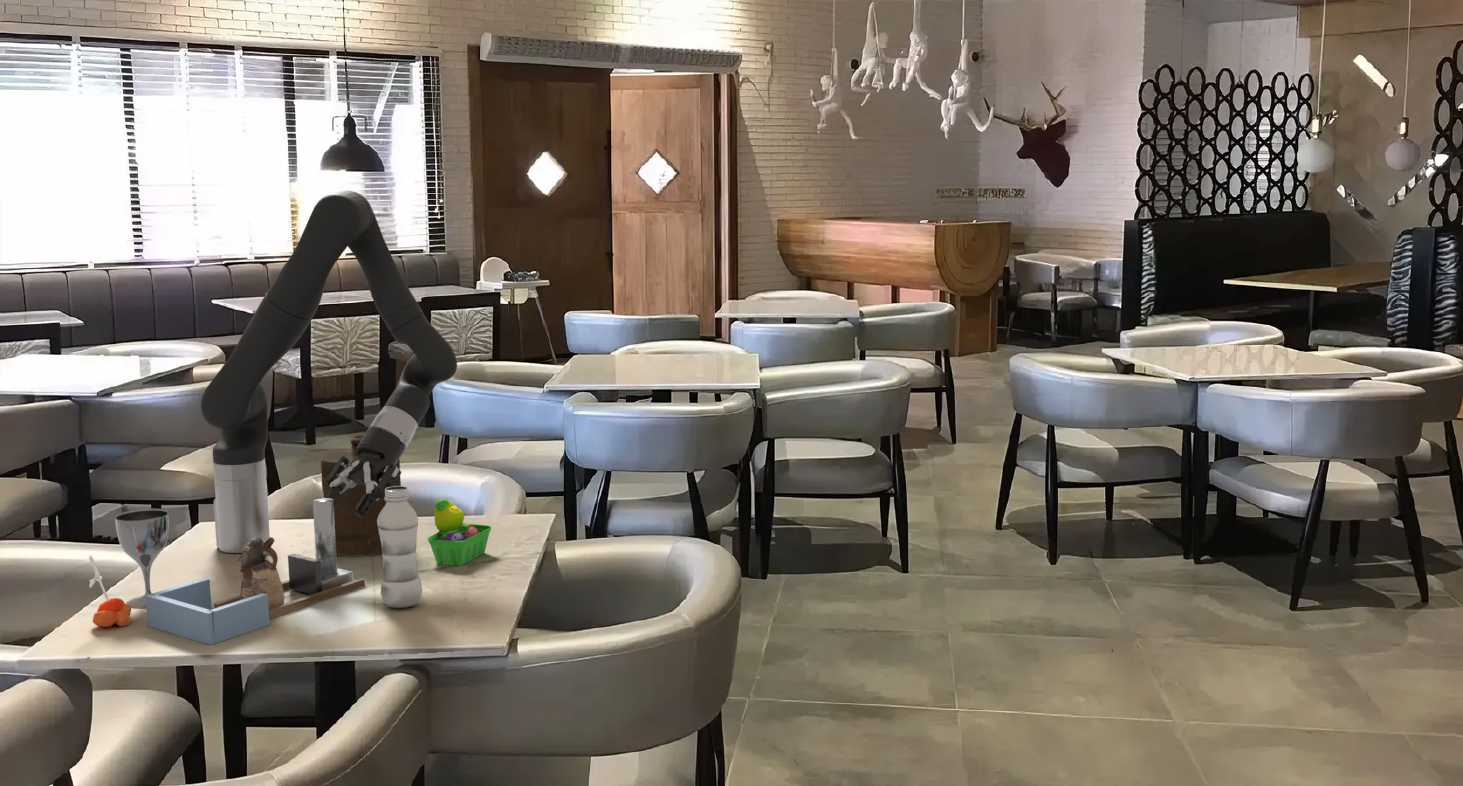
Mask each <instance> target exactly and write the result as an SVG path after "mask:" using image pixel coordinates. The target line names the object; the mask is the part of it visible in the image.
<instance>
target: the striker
mask: <svg viewBox="0 0 1463 786" xmlns="http://www.w3.org/2000/svg"><path fill="white" fill-rule="evenodd" d="M312 514H313V530H314V532H313V533H314V546H315V558H314V557H311V556H305V555H300V554H297V553H292V554H288V555H287V564H288V565H287V566H288V580H289V584H290V589H289V590H292V591H297V592H300V593H305V594H308V595H312V594H315V593H318V592H321V591H324V590H327V589H330V588H334V587H337V586H340V585H343V584H346V583H349V582H352V581H354V575H353V571H351V570H347V569H343V568H338V560H337V559H338V557H337V556H338V555H336V538H335V520H334V502H333V499H330V498H322V497H321V498H318V499H317V498H316V499H314V500H313V501H312Z"/></svg>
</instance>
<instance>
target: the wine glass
mask: <svg viewBox="0 0 1463 786" xmlns="http://www.w3.org/2000/svg"><path fill="white" fill-rule="evenodd" d="M114 518H115V520H114V521H115V530H116V535H117V539H118V543H119V544H120V547H121V549H122V551H123V552H124V553H125V554H126V555H127V556H128V557H130V558H131V559H132V560H133V561H135V562H136V563H137V565H138V566H139V568H140V569H141V571H142V572H141V573H142V576H143V581H144V591H145V593H144V595H140V596H136V597H133V598H130V599H129V600H127V601H126V602H124V603H125V604H128V605H131V609H146V598H145V595H149V594H152V590H151V569H152V566H153V563H154V561H156V559H157V558H158V556H159V555H160V554H161V552H162V551H163V550H164V548H165V547H166V545H167V543H168V538H169V537H168V536H169V528H170V523H169V513H168V510H166V509H163V508H141V509H135V510H133V509H132V510H130V511H129V510H128V511H125V512H121V513H119V514H117V515H116V516H115V517H114Z"/></svg>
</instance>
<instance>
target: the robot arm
mask: <svg viewBox="0 0 1463 786" xmlns="http://www.w3.org/2000/svg"><path fill="white" fill-rule="evenodd" d="M303 229H304V230H303V232H302V233H301V236H300V238H299V240H298V243H297V245H296V246H295V248H294V250H293V252H292V254H291V256H290V257H289V258H288V260H287V261H286V262H285V264H284V265H283V266H282V267H281V269H280V271H279V273H278V274H277V276H276V277H275V279H274V281H273V282H272V284H271V285H270V287H269V288H268V290H267V291H266V293H265V294H264V297H263V298H262V300H261V302H260V303H259V304H258V307H257V308H256V310H255V313H254V314H253V316H252V318H251V320H250V321H249V323H248V324H247V326H246V328H245V330H244V332H243V333H242V335H241V337H240V339H239V340H238V341H237V345H236V346H235V348H234V350H233V351H232V352H231V354H230V356H229V357H228V358H227V360H226V362H224V364H223V365H222V366H221V368H220V369H219V371H218V372H217V374H215V376H214V377H213V379H211V381H210V383H209V384H208V385H207V386H206V388H205V390H204V392H203V393H202V396H201V401H200V410H201V414H202V416H203V419H204V420H205V421H206V423H208V424H209V426H211V427H213V428H217V429H221V434H220V437H219V439H218V440H217V442H216V443H215V445H214V446H213V448H212V463H213V464H212V465H213V476H214V477H213V478H214V479H213V480H214V491H215V493H214V494H215V498H214V500H213V511H214V512H213V513H214V525H215V526H214V527H215V539H216V540H215V541H216V542H215V543H216V548H219V549H218V550H220V551H221V552H223V553H226V554H228V553H229V554H242V553H243V548H244V547H245V545H246V544H247V543H248V542H249V541H250V540H252V539H254V538H256V537H259V538H261V539H262V540H263V543H265V542H266V541H267V540H268V539H269V538H270V537H271V536H270V535H271V534H270V519H269V517H270V516H269V501H268V499H269V498H268V487H267V472H266V458H265V456H266V455H265V453H266V452H265V449H266V446H267V444H268V440H269V439H268V436H269V432H268V431H269V429H268V428H269V427H268V425H269V422H268V401H267V395H266V392H265V388H263V386H262V383H261V382H262V381H263V379H264V378H265V376H266V375H267V374H268V372H269V371H270V370H271V369H272V368H273V367H274V366H275V365H276V364H277V363H278V362H279V361H280V360H281V359H282V358H283V357H284V356H285V355H286V354H288V352H289V351H290V350H291V349H292V348H293V347H294V346H295V344H297V342H298V341H299V340H300V338H301V337H302V336H303V334H304V333H305V331H306V329H307V328H308V326H309V325H310V323H311V322H312V320H313V318H314V316H315V314H316V312H317V310H318V308H319V306H320V304H321V300H322V297H323V293H324V290H325V286H326V283H327V280H328V277H329V275H330V272H331V271H332V269H333V267H334V266H335V264H336V263H337V261H338V260H339V259H340V257H341V256H342V254H344V252H345V251H346V249H347V248H348V249H349V250H350V251H351V253H352V254H353V255H354V257H355V259H356V260H357V262H358V264H359V266H360V268H361V270H362V272H363V274H364V276H365V280H366V283H367V286H368V288H369V289H368V290H369V292H370V295H371V298H372V300H373V303H374V305H375V308H376V310H377V311H378V314H379V316H380V317H381V319H382V321H383V322H384V324H385V326H386V327H387V329H388V331H389V332H390V334H391V336H392V337H393V338H394V341H396V342H397V343H399V344H402V345H406V346H408V348H409V349H410V350H411V351H412V353H413V355H411V357H410V358H409V359H408V360H407V362H406V364H405V365H404V368H403V370H402V372H401V375H400V377H399V379H398V381H397V385H396V387H395V389H394V390H393V392H392V393H391V395H390V396H389V398H388V399H387V401H386V403H385V404H384V406H383V407H382V408H381V410H380V411H379V412H378V414H377V415H376V416H375V418H374V419H373V421H372V422H371V423H370V426H369V427H367V428H368V429H367V430H366V431H365V433H364V434H363V435H364V436H363V438H362V440H361V441H360V443H359V444H358V447H357V449H358V455H357V456H356V457H355V458H354V459H353V460H350V459H348V458H347V457H345V456H342V457H341V458H340V459H339V461H338V462H337V463H336V465H335V466H334V468H333V469H332V471H331V472H330V474H329V475H328V476H327V478H326V479H325V483H326V484H328V485H329V486H330V489H329V491H328V492H327V494H326V495H325V497H324V498H330V499H333V502H334V506H335V504H336V502H337V501H338V499H339V498H340V496H341V493H343V492H344V491H345V490H347V489H348V488H353V487H355V486H356V485H359V486H361V485H364V486H366V493H367V494H364V495H363V496H362V498H361V500H360V501H359V503H358V504H357V506H356V508H355V509H354V513H355V514H356V515H357V516H359V517H361V518H364V517H365V515H366V514H367V513H368V512H369V510H370V509H371V507H372V505H373V504H374V502H375V501H377V500H379V498H383V499H384V497H385V490H384V489H383V488H384V486H385V484H386V485H387V486H386V488H388V487H393V486H395V484H396V482H397V480H398V478H399V477H400V478H401V474H402V471H401V469H400V470H399V469H398V468H397V467H396V466H395V465H396V464H397V462H398V460H400V458H401V457H402V456H403V454H404V452H405V450H406V448H407V447H409V444H410V442H411V441H412V439H413V438H414V435H415V432H416V430H417V428H418V426H419V425H420V423H421V421H422V420H423V419H424V416H426V413H427V412H428V410H429V407H430V406H431V405H430V403H431V400H430V396H431V393H432V391H433V390H434V388H435V387H436V386H437V385H438V384H441V383H444V382H446V381H448V380H450V379H452V378H453V376H454V375H455V374H456V372H457V369H458V361H457V357H456V354H455V351H454V350H453V348H452V346H451V345H450V344H449V343H448V341H447V340H446V339H445V338H444V337H443V335H442V334H441V333H440V332H439V331H438V330H437V329H436V328H435V327H434V326H433V325H432V324H431V322H429V320H428V319H427V317H426V316H425V314H424V311H423V310H422V308H421V307H420V304H419V302H418V301H417V299H416V298H415V296H414V295H413V293H412V291H411V290H410V287H408V285H407V283H406V281H405V280H404V278H403V276H402V274H401V272H400V270H399V268H398V266H397V264H396V261H395V260H394V258H393V256H392V254H391V252H390V249H389V248H388V247H389V246H388V245H387V242H386V240H385V238H384V235H383V234H382V230H381V228H380V226H379V223H378V220H377V217H376V215H375V213H374V210H373V208H372V205H371V204H370V202H369V200H368V199H367V198H366V197H365V196H363V194H360V193H359V192H357V191H355V190H354V191H353V190H341V191H337V192H332V193H329V194H327V195H324V196H323V197H321V199H320V200H318V201H317V202H316V204H315V206H314V207H313V209H312V211H311V214H310V216H309V218H308V220H307V222H306V224H305V227H304V228H303ZM336 475H337V479H335V480H334V481H333V479H334V477H335V476H336ZM348 475H350V479H351V480H350V479H348V478H347V476H348ZM342 482H344V483H345V484H343V485H342V486H341V487H340V486H339V485H340V484H341V483H342ZM386 488H385V489H386Z"/></svg>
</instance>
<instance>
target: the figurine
mask: <svg viewBox="0 0 1463 786" xmlns="http://www.w3.org/2000/svg"><path fill="white" fill-rule="evenodd" d="M274 543H275V538H273V537H272V536H270V538H269V539H268V540H267V541H266V542H265V543H263V540H262V539H261V538H259V537H256V538H254V539H252V540H250V541H249V542H248V543H247V544H246V545H245V547H244V548H243V553H241V555H240V556H239V557H238V560H237V561H238V562H239V563H240V568H239V572H240V573H242V576H241V579H240V591H239V595H240V596H239V595H238V596H239V601H240V600H243V599H246V598H249V597H252V596H256V595H259V594H262V593H264V594H267V595H268V609H270V608H273V607H276V606H279V605H282V604H285V593H284V592H285V591H283V587H282V583H281V582H282V581H281V578H280V573H279V571H278V569H277V565H278V559H279V557H278V554H277V552H276V550H275V549H274V548H272V546H273V544H274ZM268 556H269V557H271V559H272V562H271V561H270V560H267V557H268Z"/></svg>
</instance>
